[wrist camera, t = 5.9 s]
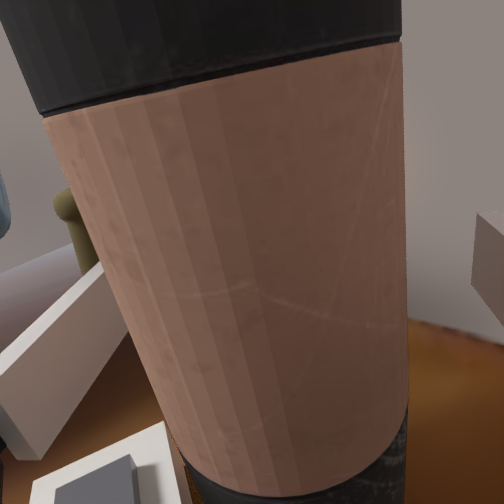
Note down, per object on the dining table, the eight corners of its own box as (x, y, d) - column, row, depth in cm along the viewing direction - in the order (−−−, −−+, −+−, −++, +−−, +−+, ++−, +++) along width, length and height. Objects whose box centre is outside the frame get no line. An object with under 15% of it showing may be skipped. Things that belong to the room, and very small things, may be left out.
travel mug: (305, 415, 20) (229, -3, 12) (445, 519, 15) (492, -141, 6) (194, 524, 16) (-45, 11, 8) (326, 725, 11) (-20, -357, 2)
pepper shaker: (145, 267, 43) (112, 179, 38) (101, 293, 39) (58, 198, 34) (118, 260, 47) (86, 179, 42) (76, 283, 43) (34, 196, 38)
